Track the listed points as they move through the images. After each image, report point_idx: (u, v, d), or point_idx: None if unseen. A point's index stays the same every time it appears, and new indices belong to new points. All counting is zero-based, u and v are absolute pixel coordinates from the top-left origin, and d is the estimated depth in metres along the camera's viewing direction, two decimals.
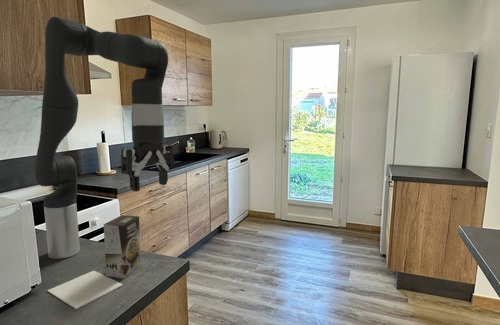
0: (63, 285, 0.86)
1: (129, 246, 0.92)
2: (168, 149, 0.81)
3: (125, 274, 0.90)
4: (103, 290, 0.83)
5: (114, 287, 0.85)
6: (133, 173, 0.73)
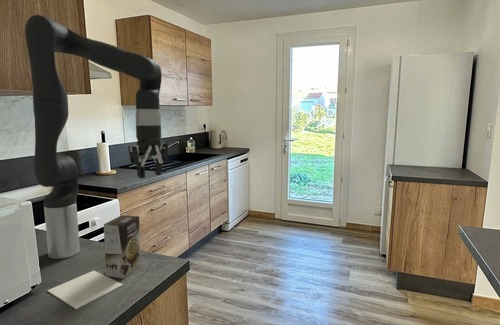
0: (63, 285, 0.86)
1: (129, 246, 0.92)
2: (164, 146, 1.03)
3: (125, 274, 0.90)
4: (103, 290, 0.83)
5: (114, 287, 0.85)
6: (140, 164, 0.95)
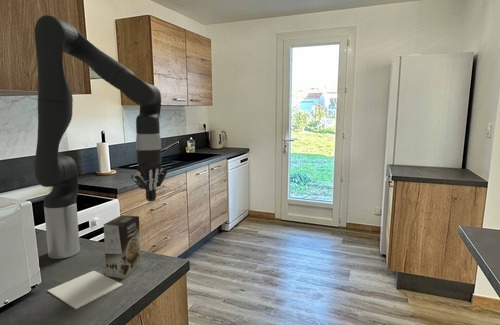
0: (63, 285, 0.86)
1: (129, 246, 0.92)
2: (163, 172, 1.03)
3: (125, 274, 0.90)
4: (103, 290, 0.83)
5: (114, 287, 0.85)
6: (148, 188, 0.99)
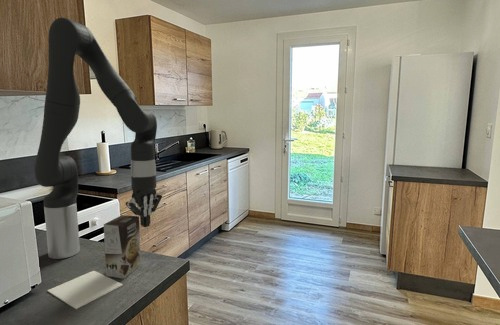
0: (63, 285, 0.86)
1: (129, 246, 0.92)
2: (158, 197, 1.03)
3: (125, 274, 0.90)
4: (103, 290, 0.83)
5: (114, 287, 0.85)
6: (143, 214, 0.98)
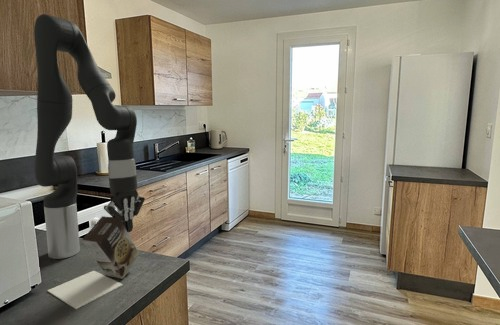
0: (63, 285, 0.86)
1: (118, 251, 0.87)
2: (140, 199, 0.95)
3: (123, 275, 0.89)
4: (103, 290, 0.83)
5: (114, 287, 0.85)
6: (124, 218, 0.90)
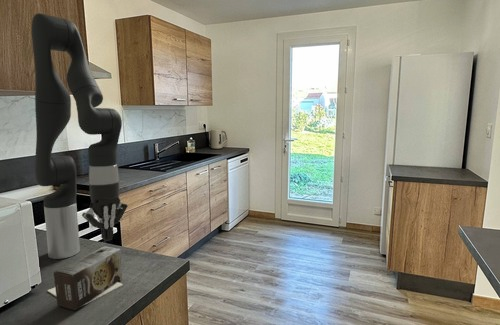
0: None
1: (98, 284, 0.81)
2: (122, 207, 0.91)
3: (120, 278, 0.88)
4: None
5: (114, 287, 0.85)
6: (103, 226, 0.87)
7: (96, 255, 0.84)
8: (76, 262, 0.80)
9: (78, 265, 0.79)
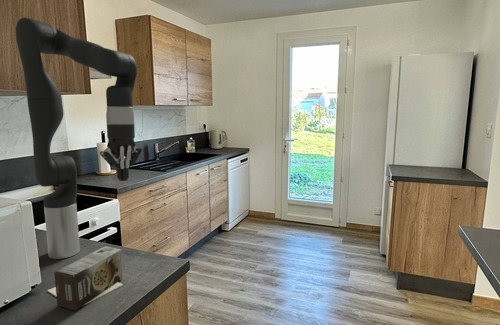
0: None
1: (99, 284, 0.81)
2: (137, 150, 0.96)
3: (120, 278, 0.88)
4: None
5: (114, 287, 0.85)
6: (120, 166, 0.91)
7: (97, 256, 0.84)
8: (77, 262, 0.80)
9: (78, 265, 0.79)
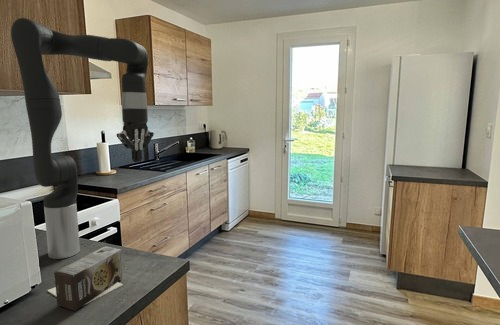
0: None
1: (99, 284, 0.81)
2: (149, 134, 1.03)
3: (120, 278, 0.88)
4: None
5: (114, 287, 0.85)
6: (134, 148, 0.99)
7: (97, 256, 0.84)
8: (77, 262, 0.80)
9: (78, 265, 0.79)
